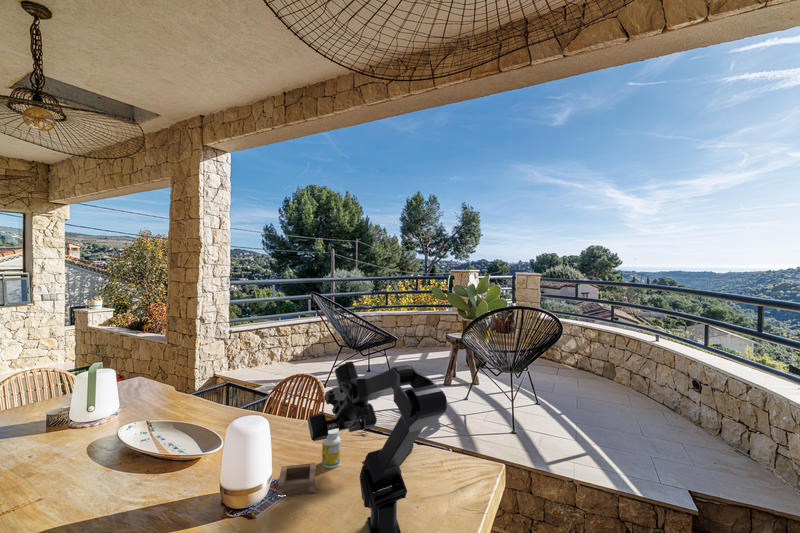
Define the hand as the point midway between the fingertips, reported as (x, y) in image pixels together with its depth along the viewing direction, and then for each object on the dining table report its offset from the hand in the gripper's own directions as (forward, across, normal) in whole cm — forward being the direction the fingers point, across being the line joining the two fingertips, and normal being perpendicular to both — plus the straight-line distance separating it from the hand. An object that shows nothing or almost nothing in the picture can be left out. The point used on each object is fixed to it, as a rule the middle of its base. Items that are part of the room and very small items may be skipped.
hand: (334, 434), depth 100 cm
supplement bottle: (+8, 0, +5) cm, 10 cm away
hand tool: (+3, -19, +11) cm, 22 cm away
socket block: (+4, +12, +9) cm, 15 cm away
